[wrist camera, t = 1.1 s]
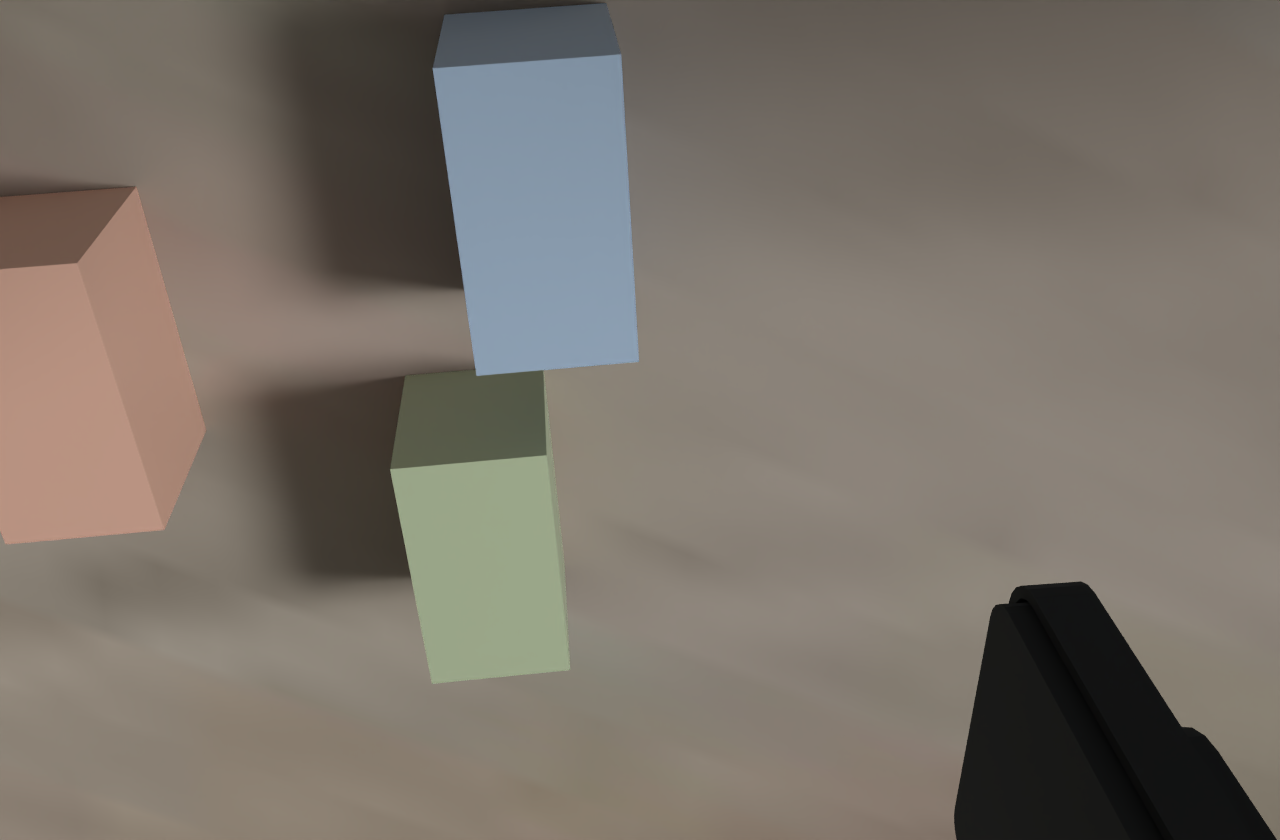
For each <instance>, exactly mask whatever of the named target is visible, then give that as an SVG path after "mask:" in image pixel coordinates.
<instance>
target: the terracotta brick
mask: <svg viewBox="0 0 1280 840" xmlns="http://www.w3.org/2000/svg"><path fill="white" fill-rule="evenodd" d="M205 432H206V428H205V424H204V421H203V418H202V414H201V411H200V407H199V404H198V400H197V397H196V393H195V390H194V386H193V383H192V379H191V376H190V372H189V369H188V365H187V362H186V358H185V355H184V351H183V348H182V344H181V341H180V337H179V334H178V330H177V327H176V323H175V320H174V316H173V313H172V309H171V306H170V303H169V299H168V296H167V292H166V289H165V285H164V282H163V278H162V275H161V271H160V268H159V264H158V261H157V257H156V254H155V250H154V247H153V243H152V240H151V236H150V233H149V229H148V226H147V222H146V219H145V215H144V212H143V208H142V205H141V201H140V198H139V194H138V191H137V187H125V188H111V189H98V190H85V191H72V192H59V193H46V194H33V195H19V196H6V197H0V531H1V534H2V536H3V539H4V541H5V543H6V544H15V543H26V542H37V541H48V540H59V539H70V538H81V537H92V536H103V535H114V534H125V533H136V532H147V531H158V530H164V529H165V527H166V525H167V522H168V520H169V517H170V515H171V513H172V510H173V508H174V506H175V503H176V501H177V498H178V496H179V494H180V491H181V489H182V487H183V484H184V482H185V479H186V477H187V475H188V472H189V470H190V467H191V465H192V463H193V460H194V458H195V456H196V453H197V451H198V448H199V446H200V444H201V441H202V439H203V437H204V434H205Z"/></svg>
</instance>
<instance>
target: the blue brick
mask: <svg viewBox="0 0 1280 840" xmlns="http://www.w3.org/2000/svg"><path fill="white" fill-rule="evenodd" d="M433 74H434V81H435V88H436V95H437V102H438V109H439V116H440V123H441V130H442V137H443V144H444V151H445V158H446V165H447V172H448V179H449V186H450V193H451V200H452V207H453V214H454V221H455V228H456V235H457V242H458V249H459V256H460V263H461V270H462V277H463V284H464V292H465V299H466V306H467V313H468V320H469V327H470V334H471V341H472V348H473V355H474V362H475V369H476V376H481V375H492V374H504V373H515V372H527V371H538V370H550V369H561V368H572V367H584V366H595V365H607V364H618V363H630V362H639V355H638V337H637V320H636V303H635V285H634V268H633V251H632V233H631V216H630V199H629V182H628V164H627V147H626V130H625V112H624V95H623V78H622V61H621V52H620V49H619V45H618V42H617V38H616V35H615V31H614V28H613V24H612V21H611V17H610V14H609V10H608V7H607V4H606V3H599V4H586V5H572V6H558V7H544V8H530V9H516V10H502V11H489V12H475V13H461V14H447V15H444V19H443V24H442V29H441V33H440V38H439V42H438V47H437V51H436V56H435V60H434V65H433Z"/></svg>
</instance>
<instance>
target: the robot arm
mask: <svg viewBox="0 0 1280 840" xmlns="http://www.w3.org/2000/svg"><path fill="white" fill-rule="evenodd" d="M954 824H955V833H956V838H957V840H1277V839H1276V838H1275V836H1274V835H1273V833H1272V832H1271V830H1270V829H1269V827H1268V826H1267V824H1266V823H1265V821H1264V820H1263V818H1262V817H1261V815H1260V814H1259V812H1258V811H1257V809H1256V808H1255V806H1254V805H1253V803H1252V802H1251V800H1250V799H1249V797H1248V796H1247V794H1246V793H1245V791H1244V790H1243V788H1242V787H1241V785H1240V784H1239V782H1238V781H1237V779H1236V778H1235V776H1234V775H1233V773H1232V772H1231V770H1230V769H1229V767H1228V766H1227V764H1226V763H1225V761H1224V760H1223V758H1222V757H1221V755H1220V754H1219V752H1218V751H1217V750H1216V748H1215V747H1214V746H1213V745H1212V744H1211V742H1210V741H1209V740H1208V739H1207V738H1206V736H1205V735H1203V734H1201V733H1200V732H1198V731H1197V730H1195V729H1193V728H1189V727H1181V726H1180V724H1179V722H1178V721H1177V719H1176V718H1175V716H1174V715H1173V713H1172V712H1171V710H1170V709H1169V707H1168V705H1167V704H1166V702H1165V701H1164V699H1163V698H1162V696H1161V695H1160V693H1159V692H1158V690H1157V688H1156V687H1155V685H1154V684H1153V682H1152V681H1151V679H1150V678H1149V676H1148V675H1147V673H1146V671H1145V670H1144V668H1143V667H1142V665H1141V664H1140V662H1139V661H1138V659H1137V657H1136V656H1135V654H1134V653H1133V651H1132V650H1131V648H1130V647H1129V645H1128V644H1127V642H1126V640H1125V639H1124V637H1123V636H1122V634H1121V633H1120V631H1119V630H1118V628H1117V627H1116V625H1115V623H1114V622H1113V620H1112V619H1111V617H1110V616H1109V614H1108V613H1107V611H1106V610H1105V608H1104V606H1103V605H1102V603H1101V602H1100V600H1099V599H1098V597H1097V596H1096V594H1095V593H1094V591H1093V590H1092V589H1091V588H1090V587H1089V586H1088V585H1087V584H1085V583H1083V582H1069V583H1055V584H1041V585H1027V586H1019V587H1016V588H1015V590H1014V591H1013V592H1012V594H1011V597H1010V601H1009V604H999V605H995V607H994V608H993V610H992V613H991V616H990V621H989V627H988V632H987V637H986V643H985V648H984V654H983V659H982V664H981V670H980V675H979V681H978V686H977V691H976V697H975V702H974V708H973V713H972V718H971V724H970V729H969V735H968V740H967V745H966V751H965V756H964V762H963V767H962V772H961V778H960V783H959V789H958V794H957V799H956V805H955V813H954Z"/></svg>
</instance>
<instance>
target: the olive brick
mask: <svg viewBox="0 0 1280 840" xmlns="http://www.w3.org/2000/svg"><path fill="white" fill-rule="evenodd" d="M390 472H391V477H392V482H393V487H394V492H395V497H396V502H397V507H398V513H399V518H400V523H401V528H402V533H403V538H404V543H405V548H406V553H407V559H408V564H409V569H410V574H411V579H412V584H413V589H414V594H415V599H416V605H417V610H418V615H419V620H420V625H421V630H422V635H423V640H424V645H425V651H426V656H427V661H428V666H429V671H430V676H431V681H432V684H434V683H444V682H454V681H464V680H475V679H485V678H495V677H505V676H515V675H525V674H535V673H545V672H555V671H565V670H570V657H569V639H568V620H567V602H566V584H565V566H564V556H563V547H562V537H561V528H560V518H559V509H558V500H557V490H556V481H555V471H554V462H553V452H552V443H551V434H550V424H549V415H548V405H547V396H546V387H545V377H544V370H538V371H527V372H515V373H504V374H492V375H481V376H476V370H464V371H453V372H441V373H430V374H418V375H406V376H405V380H404V387H403V393H402V399H401V405H400V411H399V417H398V424H397V430H396V436H395V442H394V448H393V454H392V461H391V467H390Z"/></svg>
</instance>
